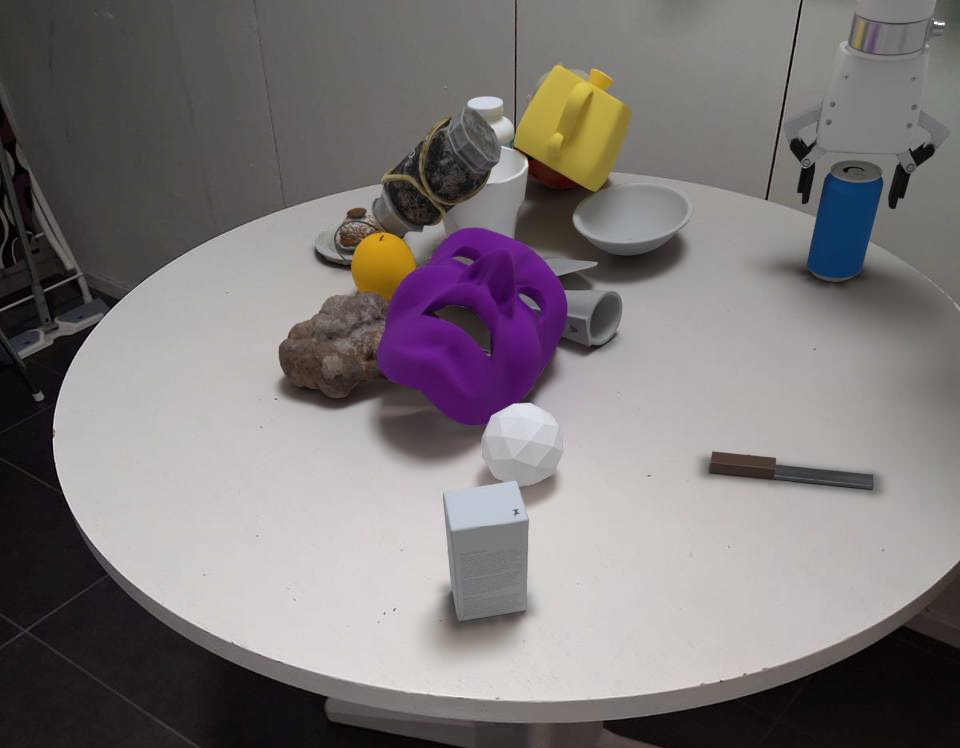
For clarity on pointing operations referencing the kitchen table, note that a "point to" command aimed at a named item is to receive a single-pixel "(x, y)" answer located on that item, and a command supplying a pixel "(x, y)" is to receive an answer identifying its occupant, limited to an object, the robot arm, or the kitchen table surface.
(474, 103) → the pill bottle
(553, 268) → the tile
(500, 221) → the cup
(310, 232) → the kitchen table surface
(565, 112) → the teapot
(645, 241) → the dish
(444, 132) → the lantern
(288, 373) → the rock
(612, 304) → the grey hollow tube
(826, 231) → the beverage can
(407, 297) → the mask
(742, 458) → the knife
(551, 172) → the toy
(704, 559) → the kitchen table surface
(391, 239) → the apple
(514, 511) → the cosmetic box
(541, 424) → the geometric ball
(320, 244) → the pastry
